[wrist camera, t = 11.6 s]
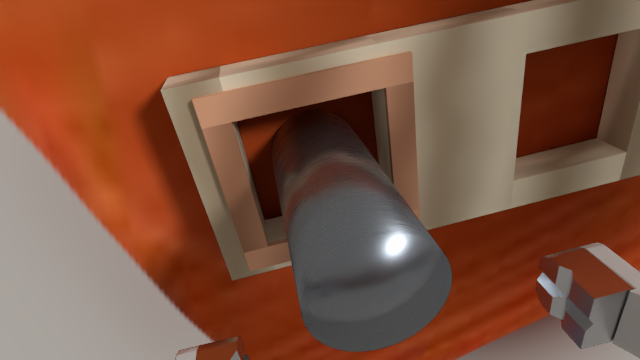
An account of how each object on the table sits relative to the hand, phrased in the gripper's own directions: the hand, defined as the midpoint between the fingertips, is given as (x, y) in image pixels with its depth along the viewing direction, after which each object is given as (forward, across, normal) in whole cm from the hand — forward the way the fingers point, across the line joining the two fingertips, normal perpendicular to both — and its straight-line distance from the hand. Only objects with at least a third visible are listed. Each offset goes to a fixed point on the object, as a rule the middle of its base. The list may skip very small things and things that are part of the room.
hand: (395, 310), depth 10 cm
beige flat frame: (+11, -6, 0) cm, 12 cm away
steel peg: (+11, 0, 0) cm, 11 cm away
